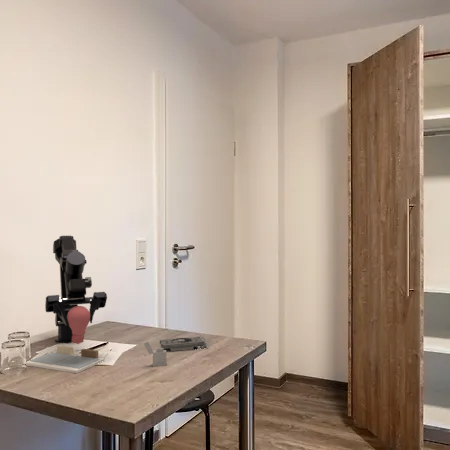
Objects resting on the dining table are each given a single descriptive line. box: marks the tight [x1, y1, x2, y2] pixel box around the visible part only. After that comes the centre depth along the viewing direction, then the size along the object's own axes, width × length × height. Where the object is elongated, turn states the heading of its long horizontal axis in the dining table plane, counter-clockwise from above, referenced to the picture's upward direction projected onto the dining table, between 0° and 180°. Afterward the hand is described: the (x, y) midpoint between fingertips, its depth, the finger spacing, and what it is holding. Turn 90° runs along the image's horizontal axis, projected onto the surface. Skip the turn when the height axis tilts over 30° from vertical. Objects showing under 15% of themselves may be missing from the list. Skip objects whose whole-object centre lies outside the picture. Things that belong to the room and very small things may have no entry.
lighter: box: [143, 339, 167, 367], centre depth 143 cm, size 7×2×8 cm, turn 105°
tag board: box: [25, 345, 105, 374], centre depth 145 cm, size 21×13×3 cm, turn 67°
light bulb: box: [67, 305, 90, 345], centre depth 143 cm, size 7×7×12 cm
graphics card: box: [159, 333, 211, 352], centre depth 164 cm, size 17×4×12 cm
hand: (79, 323), depth 142 cm, fingers closed on light bulb, 7 cm apart
